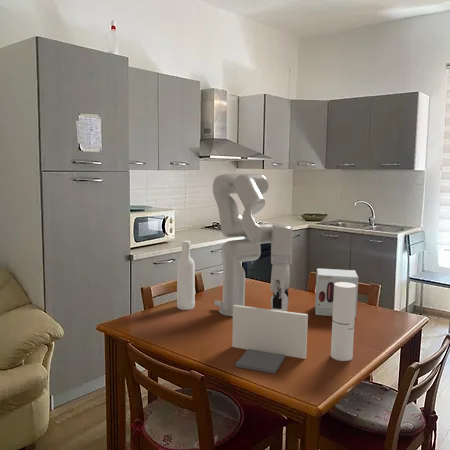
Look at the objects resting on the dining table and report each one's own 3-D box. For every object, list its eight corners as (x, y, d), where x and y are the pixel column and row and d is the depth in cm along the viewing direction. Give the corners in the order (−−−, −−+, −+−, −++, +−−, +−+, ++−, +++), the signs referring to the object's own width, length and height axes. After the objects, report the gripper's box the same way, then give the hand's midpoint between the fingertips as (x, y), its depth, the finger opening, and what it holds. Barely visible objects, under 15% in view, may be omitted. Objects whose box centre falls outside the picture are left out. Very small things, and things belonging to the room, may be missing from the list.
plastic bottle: (287, 342, 172) (288, 288, 170) (268, 340, 174) (270, 287, 171) (288, 335, 179) (290, 284, 176) (270, 334, 180) (272, 283, 177)
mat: (235, 366, 151) (235, 363, 151) (248, 351, 163) (248, 348, 163) (274, 373, 146) (274, 370, 146) (285, 357, 158) (285, 354, 158)
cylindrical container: (328, 352, 163) (331, 282, 160) (348, 352, 164) (351, 281, 161) (334, 361, 156) (338, 287, 153) (355, 360, 157) (359, 287, 154)
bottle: (198, 306, 213) (198, 241, 209) (187, 311, 206) (187, 243, 202) (184, 303, 217) (184, 239, 213) (173, 307, 210) (173, 241, 206)
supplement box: (315, 315, 203) (317, 274, 200) (314, 306, 216) (316, 267, 213) (357, 318, 200) (359, 276, 198) (353, 308, 213) (355, 269, 211)
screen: (232, 346, 167) (233, 305, 165) (233, 345, 168) (234, 304, 166) (305, 358, 158) (306, 315, 156) (306, 357, 159) (307, 314, 157)
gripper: (277, 254, 181) (276, 298, 183) (264, 262, 165) (264, 310, 167) (296, 256, 179) (295, 300, 181) (285, 264, 163) (284, 312, 165)
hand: (280, 305), depth 174 cm, fingers open, 9 cm apart
